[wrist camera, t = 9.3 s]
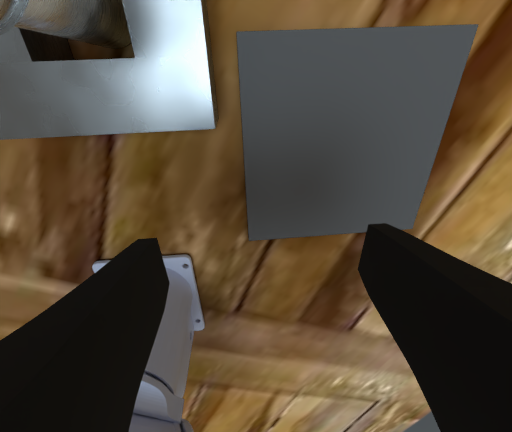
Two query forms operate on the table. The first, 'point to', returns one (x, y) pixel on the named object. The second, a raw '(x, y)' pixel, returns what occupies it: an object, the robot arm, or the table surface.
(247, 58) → the mat
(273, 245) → the table surface
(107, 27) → the pin
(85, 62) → the square hole block
